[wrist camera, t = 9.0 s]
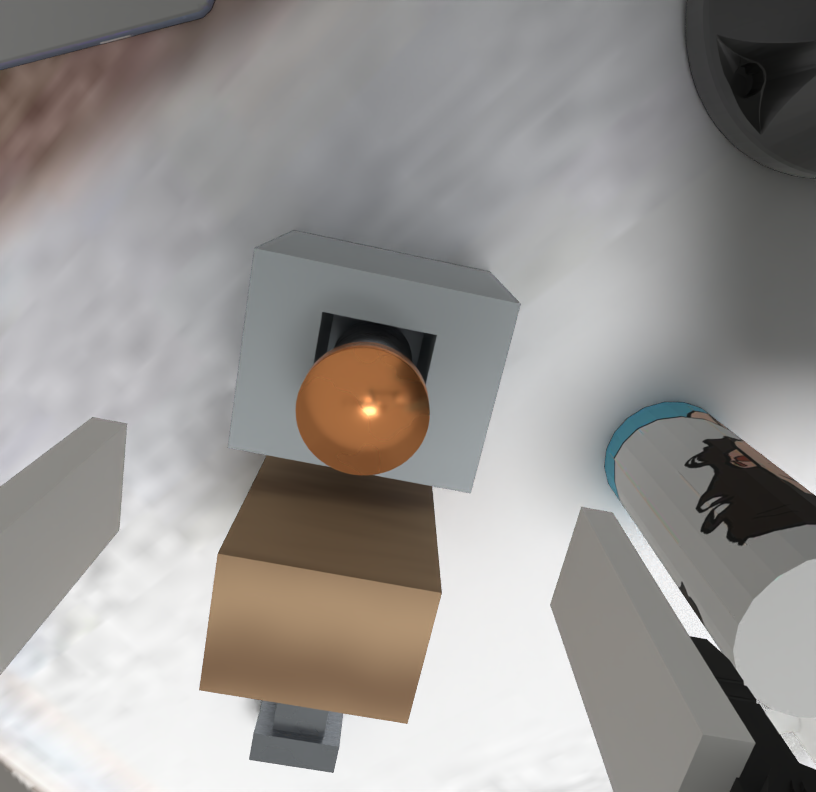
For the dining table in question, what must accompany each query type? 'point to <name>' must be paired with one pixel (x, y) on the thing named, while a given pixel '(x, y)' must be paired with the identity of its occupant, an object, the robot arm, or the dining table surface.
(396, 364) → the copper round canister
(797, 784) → the robot arm
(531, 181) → the dining table surface
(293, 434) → the grey block with hole
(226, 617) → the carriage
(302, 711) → the rail
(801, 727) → the mug
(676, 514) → the white printed can
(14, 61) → the smartphone
